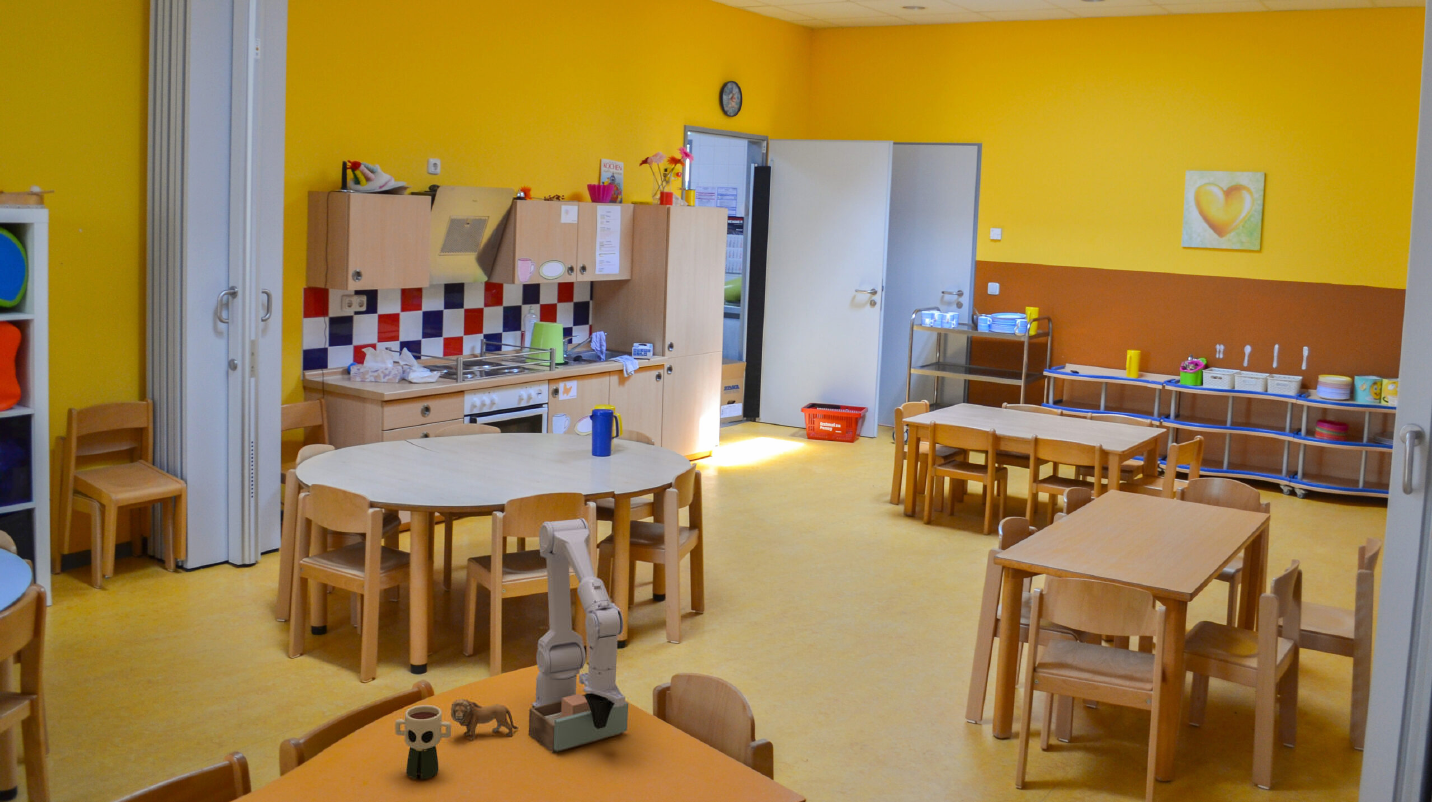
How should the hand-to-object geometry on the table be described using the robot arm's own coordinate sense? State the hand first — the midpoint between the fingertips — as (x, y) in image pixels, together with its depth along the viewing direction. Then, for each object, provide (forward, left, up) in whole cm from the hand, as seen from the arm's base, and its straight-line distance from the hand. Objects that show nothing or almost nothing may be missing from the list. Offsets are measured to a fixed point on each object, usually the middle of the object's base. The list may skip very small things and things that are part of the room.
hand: (600, 726), depth 247 cm
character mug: (-10, -35, -6) cm, 37 cm away
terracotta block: (-10, 0, -4) cm, 10 cm away
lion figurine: (-19, -17, -6) cm, 26 cm away
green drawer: (-8, 0, -4) cm, 9 cm away
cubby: (-9, 0, -5) cm, 11 cm away
